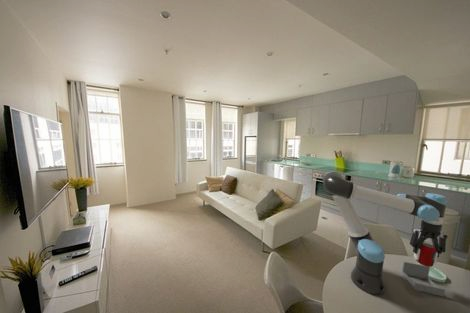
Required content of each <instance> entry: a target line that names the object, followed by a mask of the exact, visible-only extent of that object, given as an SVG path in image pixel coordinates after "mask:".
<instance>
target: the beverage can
mask: <svg viewBox="0 0 470 313" xmlns="http://www.w3.org/2000/svg"><path fill="white" fill-rule="evenodd" d="M419 249H420V255H419V260H416V259H415V260H416V262H417V263H420V264H422V265H424V266H427V267H434V264H435V263H434V259H435V254H436V248H435V246H434V245H433V243H431V242H428V241H426V240H425V241H424V242H423V243H422V245H421V246H420V247H419Z"/></svg>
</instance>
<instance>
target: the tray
mask: <svg viewBox="0 0 470 313" xmlns="http://www.w3.org/2000/svg"><path fill="white" fill-rule="evenodd" d="M415 263H416V262H415ZM416 264H420V263H419V262H417V263H416ZM421 265H422V264H421ZM428 278H429V279H430V280H431V281H432V282H437V283H446V282H447V275H446V274H445V273H444V272H442V270H440V269H438V268H436V267H434V266H432V267H430V269H429V275H428Z"/></svg>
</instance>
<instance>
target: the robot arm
mask: <svg viewBox="0 0 470 313" xmlns="http://www.w3.org/2000/svg"><path fill="white" fill-rule="evenodd" d="M322 183H323V188H324V189H325V191H327V193H328V194H327V195H329V196H330V197H332V199H333V200H334V203H335V204H336V206H337V208H338V210H339V214H341V216H342V219H343V221H344V223H345V225H346V227H347V228H348V231H347V234H348V237H349V239H350V240H351V243H352V245H353V249H354V250H355V253H356V260H355V266H354V267H353V268H352V270H351V273H350V280H351V282H353V284H354V285H355V286H356V287H357V288H359V289H360V290H362V291H364V292H366V293H368V294H370V295H374V296H379V295H383V294H384V292H385V283H384V280H383V269H384V261H385V259H386V258H385V257H386V255H385V250H384V248H383V246H382V245H381V244H379V243H378V242H376V241H374V238H373V236H372V234H371V233H370V230H369V229H368V228H367V227H365V226H364V225H363V223H362V221H361V218H360V217H359V213H358V212H357V211H356V208H355V207H354V205H353V202H352V200H351V199H354V200H358V201H362V202H365V203H368V204H372V205H376V206H379V207H383V208H387V209H391V210H394V211H398V212H400V213H405V214H408V215H412V216H415V217H417V218H419V219H420V220H421V221H420V228H418V229H416V228H412V235H411V238H410V240H409V245H410V246H411V247H413V249H412V252H413V258H414V259H415V260H419V255H420V249H419V247H420V246H421V245H422V243H423V242H424V241H426V240H427V239H431V242H432V243H431V244H433V245H434V246H435V248H436V254H435V259H434V263H433V264H437V259H438V258H439V257H440V255H442V253H446V246H447V245H446V244H447V239H448V237H449V236H448V235H447V234H445V233H443V232H442V227H443V223H444V217H445V212H446V208H447V204H448V198H447V196H444V195H442V194H439V193H432V192H431V193H430V192H427V193H426V194H425V196H424V195H423V196H421V195H415V194H407V193H398V194H397V195H395V194H393V193H392V194H391V193H387V192H384V191H380V190H376V189H372V188H368V187H365V186H360V185H357V184H355V182H351V181H348V180H346V179H344V178H343V177H342V175H341V174H340V173H339V172H336V171H328V172H326V173H325V174H324V175H323V177H322ZM438 237H439V238H438Z"/></svg>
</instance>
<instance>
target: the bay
mask: <svg viewBox="0 0 470 313" xmlns="http://www.w3.org/2000/svg"><path fill="white" fill-rule="evenodd" d="M429 269H430V267H427V266H424V265H421V264H416V262H409V261H406V260H402V266H401V272H400V273H401V274H402V276H404V278H405V279H406V281H408V283H409V284H410V285H411V287H412V288H413V289H414V290H415V291H419V292H422V293H427V294H432V295H436V296H440V297H445V293H446V289H445V288H444V287H440V286H437V284H436V283H435V282H434V281H433V280H431V279H429V278H428V275H429ZM409 276H410V277H415V278H419V279H424V280H426V281H427V282H428V284H426V283H422V282H417V281H413V280H412V279H411V278H410V277H409Z"/></svg>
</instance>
